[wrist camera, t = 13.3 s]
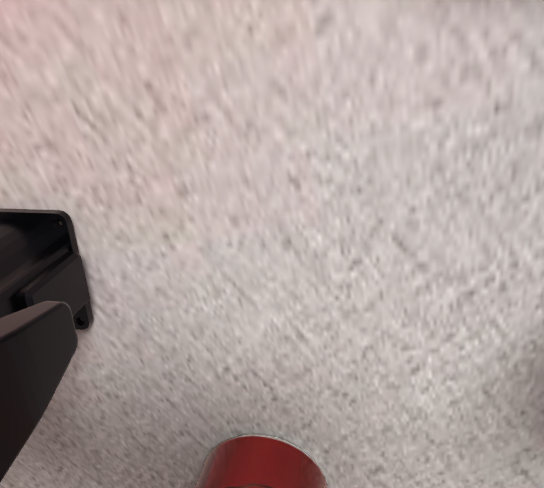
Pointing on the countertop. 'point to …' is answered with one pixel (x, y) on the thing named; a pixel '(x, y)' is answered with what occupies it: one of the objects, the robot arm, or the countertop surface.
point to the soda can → (259, 465)
